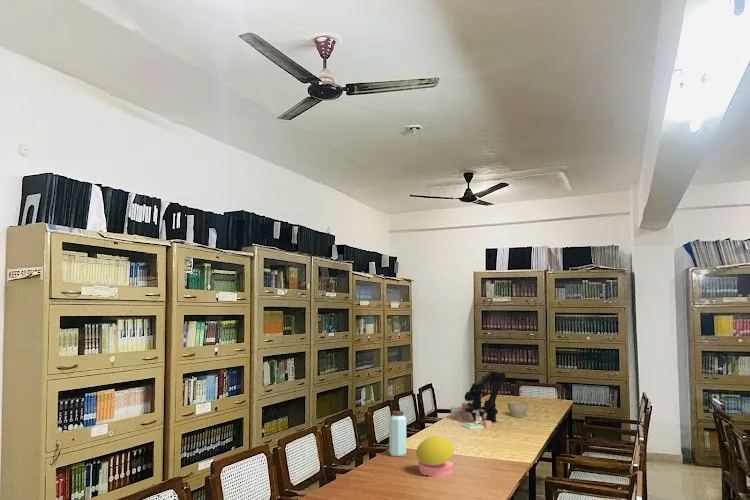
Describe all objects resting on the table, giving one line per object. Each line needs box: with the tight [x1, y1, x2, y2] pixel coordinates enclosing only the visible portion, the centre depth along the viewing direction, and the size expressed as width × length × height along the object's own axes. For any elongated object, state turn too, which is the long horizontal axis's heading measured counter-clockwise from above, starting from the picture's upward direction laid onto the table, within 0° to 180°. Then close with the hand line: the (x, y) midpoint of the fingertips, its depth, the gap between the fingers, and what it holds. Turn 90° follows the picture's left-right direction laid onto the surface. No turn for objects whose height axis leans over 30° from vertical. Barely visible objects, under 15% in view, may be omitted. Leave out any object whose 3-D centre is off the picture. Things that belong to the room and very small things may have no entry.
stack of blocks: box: [450, 402, 480, 421], centre depth 454 cm, size 21×6×12 cm, turn 88°
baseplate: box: [461, 422, 485, 430], centre depth 423 cm, size 12×12×2 cm
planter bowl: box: [507, 400, 529, 418], centre depth 466 cm, size 16×16×11 cm
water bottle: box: [388, 410, 407, 457], centre depth 342 cm, size 10×10×25 cm
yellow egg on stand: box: [415, 436, 455, 477], centre depth 306 cm, size 20×18×20 cm
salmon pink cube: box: [482, 420, 493, 429], centre depth 423 cm, size 4×4×4 cm
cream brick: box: [472, 415, 483, 424], centre depth 436 cm, size 4×4×4 cm
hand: (477, 421), depth 436 cm, fingers closed on cream brick, 4 cm apart
